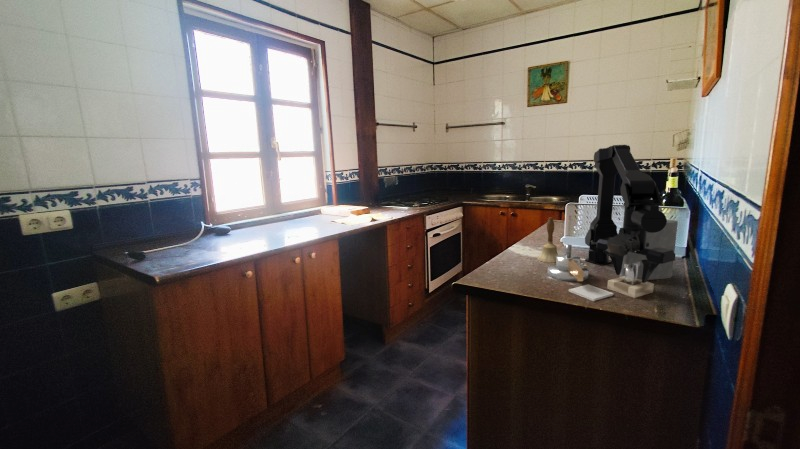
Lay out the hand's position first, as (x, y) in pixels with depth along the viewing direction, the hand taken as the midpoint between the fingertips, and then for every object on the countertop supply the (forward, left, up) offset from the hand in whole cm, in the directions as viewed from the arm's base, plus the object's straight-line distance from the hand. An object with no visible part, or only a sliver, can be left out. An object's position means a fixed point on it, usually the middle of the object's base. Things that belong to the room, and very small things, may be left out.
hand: (630, 278), depth 103 cm
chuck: (+7, -14, -1) cm, 15 cm away
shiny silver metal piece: (0, 0, -4) cm, 4 cm away
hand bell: (-4, -33, -4) cm, 33 cm away
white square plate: (+11, -4, -4) cm, 12 cm away
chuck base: (+4, -18, -4) cm, 19 cm away
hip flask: (-14, -4, -4) cm, 15 cm away
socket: (0, 0, -4) cm, 4 cm away
